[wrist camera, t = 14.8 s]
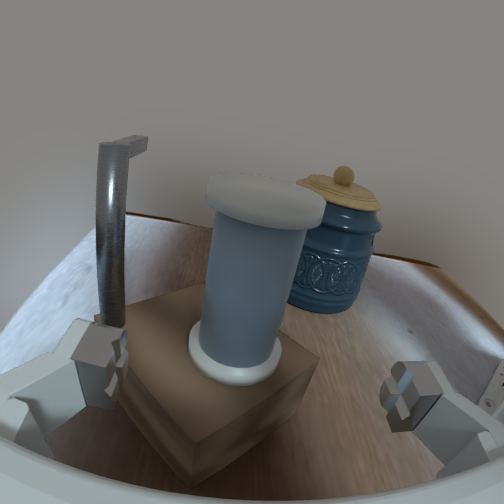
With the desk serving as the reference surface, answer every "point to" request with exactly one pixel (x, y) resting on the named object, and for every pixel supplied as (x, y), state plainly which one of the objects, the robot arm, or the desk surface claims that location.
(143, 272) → the desk surface
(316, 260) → the canister
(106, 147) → the hook post
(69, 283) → the desk surface
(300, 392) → the walnut shelf block
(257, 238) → the cord spool
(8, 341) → the desk surface
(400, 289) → the desk surface
